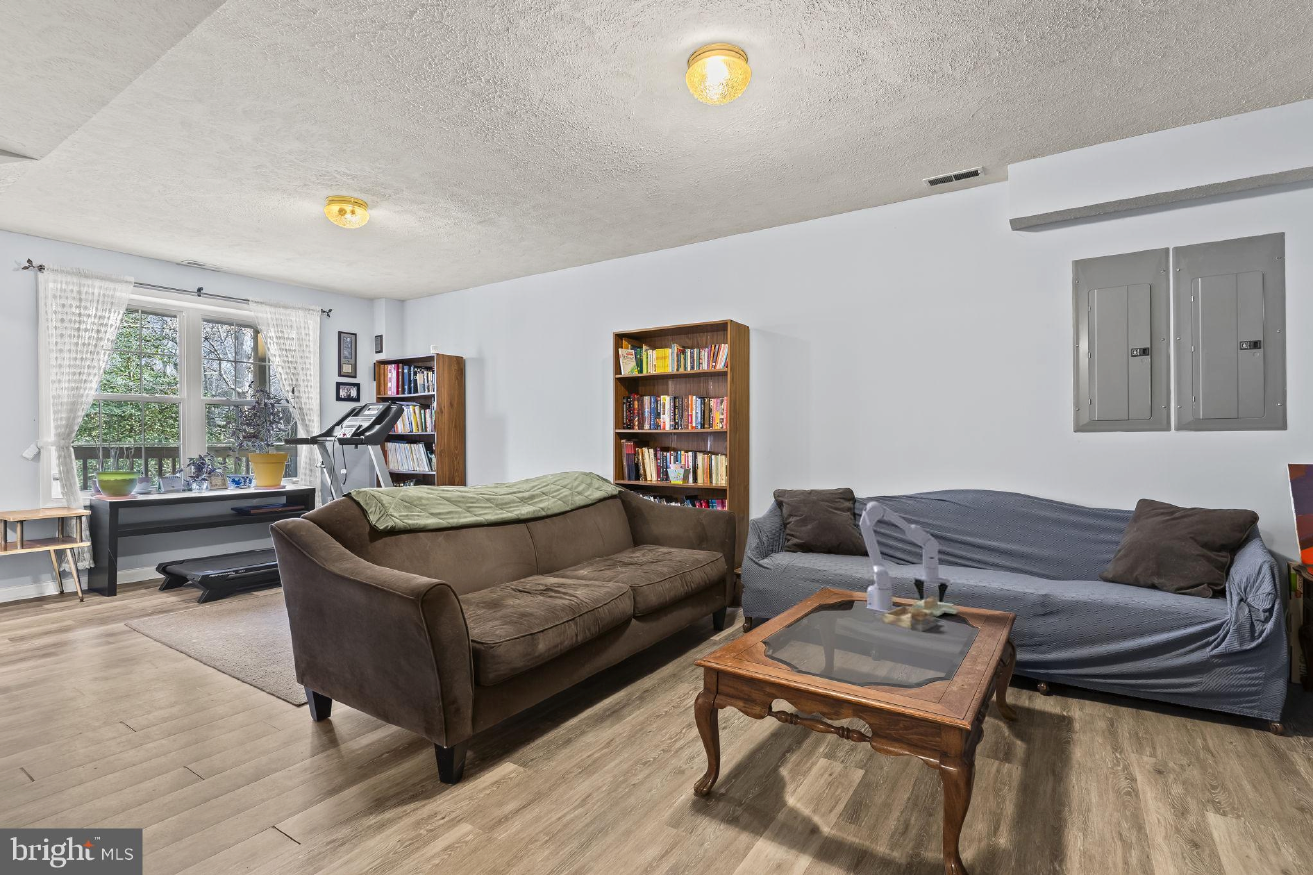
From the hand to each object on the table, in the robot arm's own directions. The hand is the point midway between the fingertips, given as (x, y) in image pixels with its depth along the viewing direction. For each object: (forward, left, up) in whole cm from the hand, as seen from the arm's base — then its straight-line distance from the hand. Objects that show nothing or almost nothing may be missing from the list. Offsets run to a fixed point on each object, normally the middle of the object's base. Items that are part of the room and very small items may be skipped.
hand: (931, 600), depth 254 cm
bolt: (+8, -26, 0) cm, 27 cm away
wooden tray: (+2, -19, -4) cm, 20 cm away
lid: (+2, 0, -4) cm, 5 cm away
